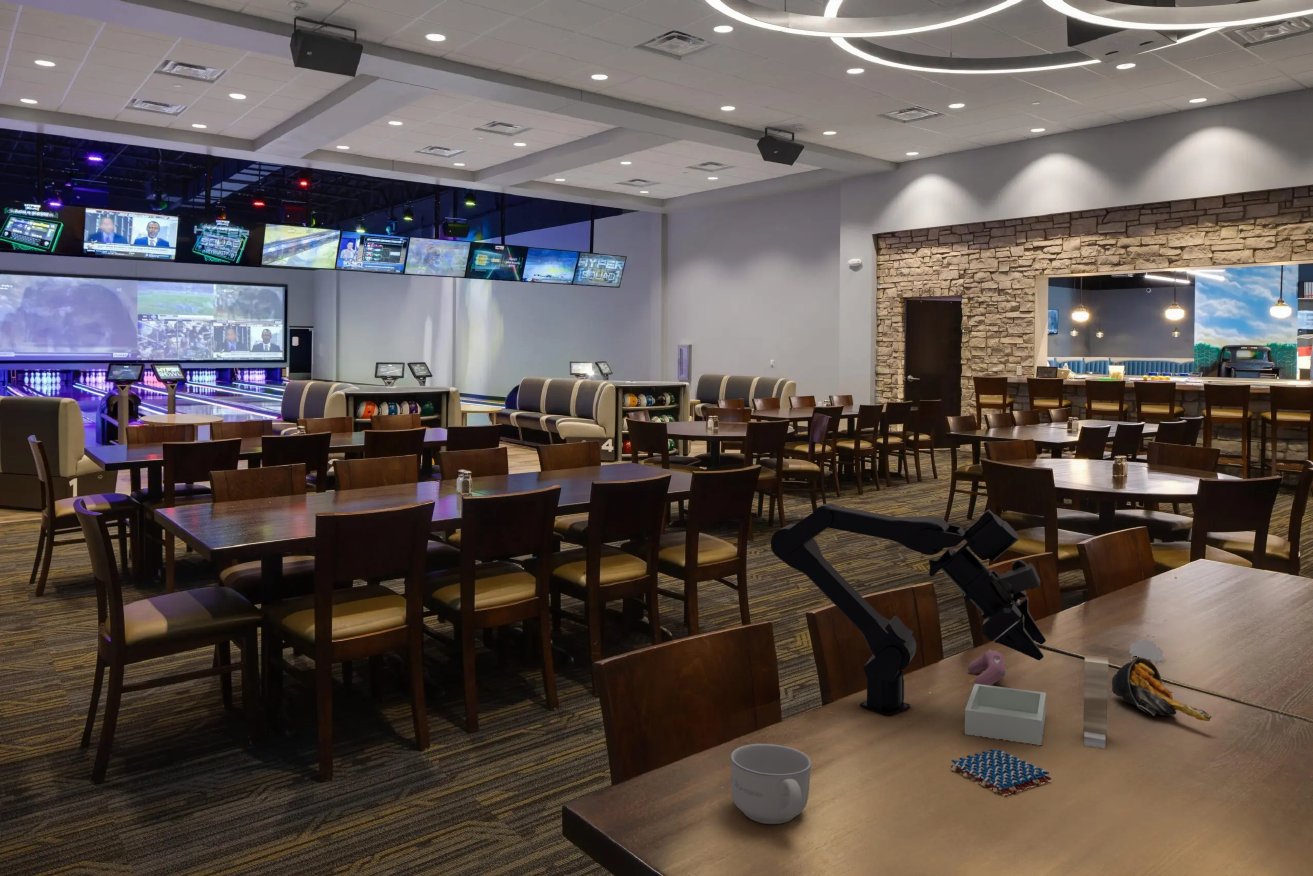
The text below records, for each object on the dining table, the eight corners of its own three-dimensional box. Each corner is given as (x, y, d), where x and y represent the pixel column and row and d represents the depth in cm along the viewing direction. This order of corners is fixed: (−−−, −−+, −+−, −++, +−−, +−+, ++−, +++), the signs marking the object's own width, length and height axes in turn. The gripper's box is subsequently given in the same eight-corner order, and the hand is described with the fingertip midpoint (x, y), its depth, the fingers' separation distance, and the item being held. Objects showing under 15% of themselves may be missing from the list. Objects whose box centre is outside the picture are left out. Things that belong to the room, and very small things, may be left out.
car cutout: (1170, 661, 186) (1170, 640, 186) (1158, 669, 182) (1159, 647, 182) (1094, 646, 197) (1095, 625, 197) (1081, 652, 193) (1082, 631, 193)
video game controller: (994, 698, 170) (1013, 666, 169) (972, 686, 170) (990, 654, 169) (986, 680, 179) (1004, 650, 178) (965, 669, 180) (982, 639, 179)
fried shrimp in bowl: (1134, 666, 168) (1230, 661, 153) (1134, 727, 164) (1233, 728, 149) (1098, 653, 165) (1193, 646, 150) (1098, 715, 161) (1195, 715, 145)
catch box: (1041, 746, 145) (1041, 720, 144) (964, 734, 150) (965, 709, 149) (1045, 716, 157) (1045, 692, 156) (974, 706, 162) (974, 683, 161)
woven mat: (1004, 802, 127) (1004, 788, 127) (947, 773, 137) (947, 759, 136) (1055, 785, 132) (1055, 772, 132) (997, 758, 141) (997, 745, 141)
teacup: (725, 797, 129) (724, 742, 128) (800, 793, 130) (800, 738, 129) (742, 848, 115) (742, 787, 114) (827, 843, 116) (827, 782, 115)
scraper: (1106, 749, 143) (1108, 668, 142) (1082, 745, 145) (1084, 665, 144) (1106, 730, 150) (1107, 653, 149) (1083, 727, 152) (1084, 651, 151)
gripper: (1005, 558, 142) (1081, 635, 139) (1013, 537, 159) (1082, 606, 155) (952, 603, 146) (1025, 679, 142) (965, 578, 163) (1031, 646, 159)
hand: (1042, 650), depth 150 cm, fingers open, 9 cm apart
